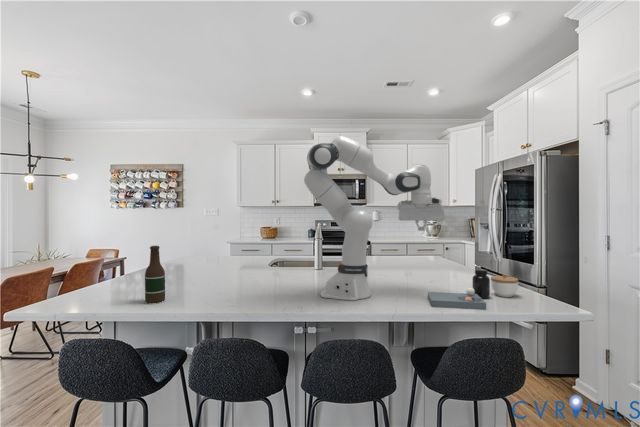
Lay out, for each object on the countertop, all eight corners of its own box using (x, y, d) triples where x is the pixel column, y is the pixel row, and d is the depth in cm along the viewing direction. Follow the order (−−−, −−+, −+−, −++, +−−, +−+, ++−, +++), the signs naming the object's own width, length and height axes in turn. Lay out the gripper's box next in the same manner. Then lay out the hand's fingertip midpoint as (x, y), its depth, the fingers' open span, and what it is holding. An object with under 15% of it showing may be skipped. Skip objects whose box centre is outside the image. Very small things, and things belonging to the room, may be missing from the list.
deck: (431, 306, 128) (431, 300, 128) (427, 297, 142) (427, 291, 142) (486, 309, 124) (486, 302, 124) (476, 299, 138) (476, 293, 138)
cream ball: (467, 295, 135) (467, 288, 135) (465, 293, 138) (465, 286, 138) (475, 296, 134) (475, 288, 134) (473, 294, 137) (473, 286, 137)
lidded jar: (492, 297, 142) (492, 276, 142) (489, 291, 152) (489, 271, 152) (520, 299, 138) (520, 277, 138) (516, 293, 148) (515, 273, 148)
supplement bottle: (492, 299, 138) (491, 271, 138) (474, 298, 139) (474, 271, 139) (487, 295, 145) (486, 268, 145) (470, 294, 146) (470, 268, 146)
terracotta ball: (462, 299, 130) (471, 301, 128) (465, 294, 132) (473, 296, 130) (463, 305, 131) (471, 307, 129) (465, 300, 133) (473, 302, 131)
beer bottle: (169, 300, 141) (168, 245, 141) (153, 305, 134) (152, 247, 134) (156, 298, 144) (156, 244, 144) (140, 302, 137) (140, 246, 137)
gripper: (397, 200, 147) (398, 230, 147) (445, 199, 143) (445, 231, 143) (397, 201, 153) (397, 230, 153) (443, 200, 149) (443, 230, 149)
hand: (421, 230), depth 148 cm, fingers closed
